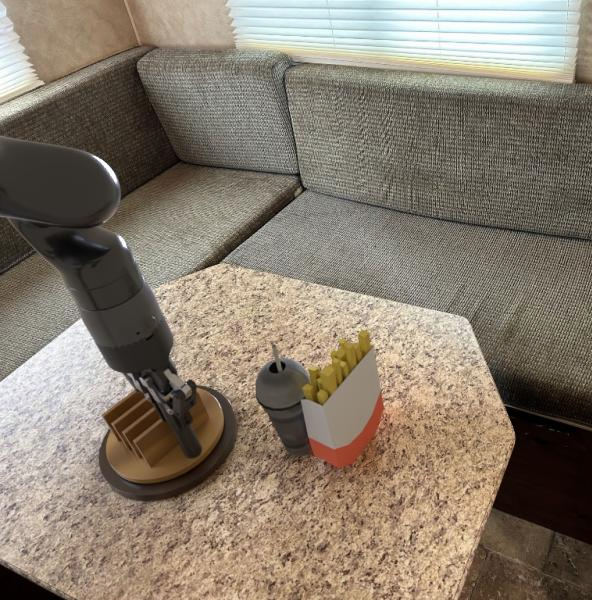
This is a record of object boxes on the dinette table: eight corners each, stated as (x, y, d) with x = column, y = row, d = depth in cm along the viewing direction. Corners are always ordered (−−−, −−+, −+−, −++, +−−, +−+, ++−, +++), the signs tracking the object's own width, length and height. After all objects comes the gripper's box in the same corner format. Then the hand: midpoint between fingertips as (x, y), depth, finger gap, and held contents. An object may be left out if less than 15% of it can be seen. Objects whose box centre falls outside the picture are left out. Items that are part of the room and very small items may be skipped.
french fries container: (314, 464, 82) (286, 374, 70) (359, 408, 88) (341, 317, 77) (342, 478, 80) (318, 388, 68) (386, 420, 86) (371, 328, 75)
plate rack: (86, 447, 85) (44, 388, 77) (178, 375, 94) (150, 316, 86) (153, 505, 77) (114, 446, 69) (247, 420, 86) (222, 359, 78)
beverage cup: (309, 413, 88) (279, 311, 75) (337, 443, 84) (311, 340, 71) (265, 442, 85) (227, 340, 72) (293, 475, 81) (257, 373, 68)
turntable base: (136, 529, 77) (132, 523, 76) (82, 443, 88) (77, 437, 87) (263, 439, 86) (260, 433, 85) (198, 372, 97) (195, 365, 96)
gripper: (60, 320, 67) (120, 419, 78) (137, 365, 61) (191, 466, 72) (116, 283, 72) (166, 382, 83) (194, 321, 65) (236, 422, 76)
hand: (177, 420), depth 77 cm, fingers closed on plate rack, 2 cm apart
